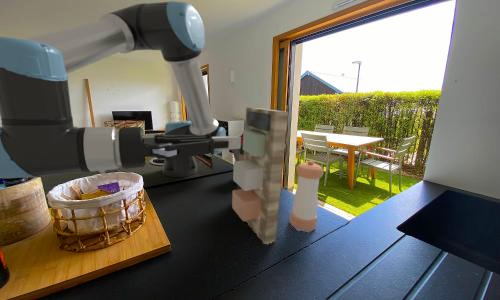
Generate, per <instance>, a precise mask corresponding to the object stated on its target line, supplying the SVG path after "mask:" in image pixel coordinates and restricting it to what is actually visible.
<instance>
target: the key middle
mask: <svg viewBox="0 0 500 300" xmlns="http://www.w3.org/2000/svg"><path fill="white" fill-rule="evenodd" d="M232 170H233V177H232V181H233V180H234V181H235V182H236V183H235V182H234V181H233V182H234V183H235V184H237V186H238V185H239V186H240V187H241V188H242V189H243V190H244V191H247V190H253V189H259V188H262V185H263V172H264V167H262V166H260V165H259V164H257V163H255V162H254V161H252V160H245V161H235V160H234V161H233V169H232Z"/></svg>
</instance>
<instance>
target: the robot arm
mask: <svg viewBox="0 0 500 300" xmlns="http://www.w3.org/2000/svg"><path fill="white" fill-rule="evenodd" d="M205 30H206V29H205V27H204V22H203V19H202V18H201V16H200V14H199V12H198V10H197V9H195V7H194V6H193V5H192V4H190V3H188V2H185V1H175V0H173V1H172V0H171V1H162V2H151V3H149V2H148V3H136V4H134V5H133V4H132V5H130V6H127V7H125V8H121V9H118V10H114V11H111V12H109V13H108V12H106V13H105V14H104V13H103V14H102V15H101V16H100V19H99V20H97V21H93V22H88V23H84V24H80V25H75V26H72V27H68V28H64V29H60V30H56V31H55V30H54V31H52V32H51V31H50V32H47V33H43V34H42V33H41V34H39V35H35V36H31V37H27V38H26V37H25V38H16V37H10V36H9V37H7V36H0V120H1V127H0V179H17V178H19V179H20V178H35V179H36V178H43V177H50V176H60V175H68V174H69V175H70V174H78V173H80V174H81V173H91V172H99V174H105V173H106V171H112V170H113V171H115V170H118V169H119V167H120V166H121V167H122V169H126V170H128V169H136V168H137V169H138V168H139V169H140V168H144V167H145V166H146V158H147V157H148V158H156V159H158V160H159V159H160V160H161V159H164V162H163V165H162V169H161V170H162V175H164V176H166V177H170V178H185V177H190V176H193V175H195V174H196V173H197V172H198V165H197V162H196V159H195V157H197V156H198V157H199V156H203V155H205V156H206V155H218V154H221V152H222V151H224V150H226V151H227V150H231V149H240V148H241V144H242V137H241V136H239V135H235V136H234V135H232V136H230V135H229V136H228V135H226V134H227V132H226V129H225V127H223V126H220V125H219V122H218V120H217V119H216V118H214V117H213V112H212V109H211V105H210V101H209V96H208V92H207V89H206V84H205V81H204V76H203V73H202V69H201V64H200V61H199V60H200V59H199V58H200V57H201V55H202V49H203V48H204V47H205V44H206V38H205V37H206V32H205ZM146 50H147V51H160V53H161V55H162V57H163V60H164V62H166V63H167V64H170V65H171V68H172V71H173V74H174V77H175V79H176V82H177V84H178V88H179V91H180V94H181V97H182V100H183V103H184V106H185V108H186V111H187V114H188V117H189V120H182V121H172V122H167V123H166V124H165V126H164V134H162V133H160V134H154V137H146V138H145V137H144V129H143V128H142V127H141V126H121V127H120V128H119V129H117V128H115V126H87V127H86V126H85V127H78V126H75V125H74V121H73V120H74V119H73V115H72V114H73V113H72V108H71V107H72V106H71V98H70V90H69V81H68V80H69V75H68V74H71V73H73V72H75V71H77V70H80V69H82V68H85V67H87V66H90V65H92V64H95V63H97V62H99V61H101V60H104V59H106V58H109V57H110V56H113V55H116V54H118V53H120V54H124V55H125V54H129V53H132V52H135V51H146Z"/></svg>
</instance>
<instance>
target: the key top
mask: <svg viewBox="0 0 500 300" xmlns="http://www.w3.org/2000/svg"><path fill="white" fill-rule="evenodd" d="M242 134H243V136H242V138H243V139H242V144H243V150H244V151H246V152H248V153H250V154H252V155H253V156H255V157H260V156H265V145H266V134H265V133H262V132H259V131H256V130H245V129H244V130H243V133H242Z"/></svg>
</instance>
